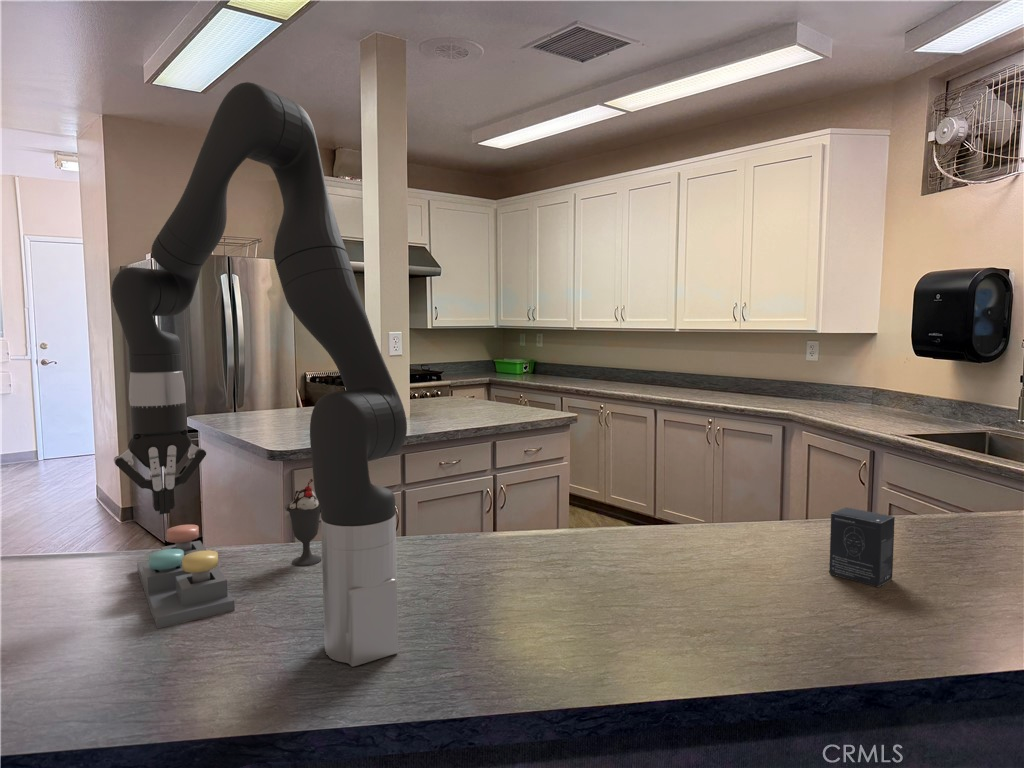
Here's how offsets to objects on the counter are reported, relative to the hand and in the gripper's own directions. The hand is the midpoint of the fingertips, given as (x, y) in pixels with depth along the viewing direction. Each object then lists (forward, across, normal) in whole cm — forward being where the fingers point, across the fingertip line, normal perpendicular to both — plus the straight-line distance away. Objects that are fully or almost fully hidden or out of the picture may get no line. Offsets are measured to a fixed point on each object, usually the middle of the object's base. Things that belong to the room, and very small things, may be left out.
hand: (164, 512), depth 101 cm
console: (+13, +2, 0) cm, 13 cm away
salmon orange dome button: (+9, +4, +8) cm, 13 cm away
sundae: (+13, +22, +1) cm, 26 cm away
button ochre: (+9, +3, -8) cm, 13 cm away
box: (+14, +94, -59) cm, 112 cm away
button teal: (+11, 0, 0) cm, 11 cm away
